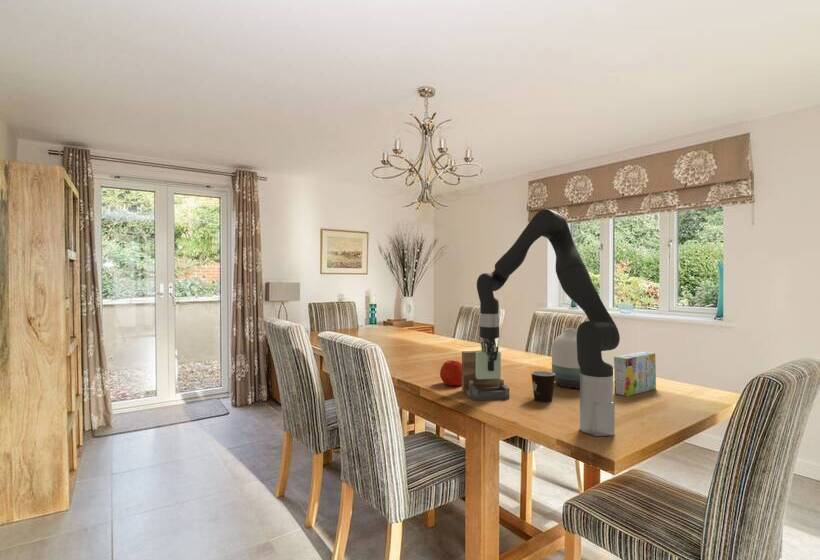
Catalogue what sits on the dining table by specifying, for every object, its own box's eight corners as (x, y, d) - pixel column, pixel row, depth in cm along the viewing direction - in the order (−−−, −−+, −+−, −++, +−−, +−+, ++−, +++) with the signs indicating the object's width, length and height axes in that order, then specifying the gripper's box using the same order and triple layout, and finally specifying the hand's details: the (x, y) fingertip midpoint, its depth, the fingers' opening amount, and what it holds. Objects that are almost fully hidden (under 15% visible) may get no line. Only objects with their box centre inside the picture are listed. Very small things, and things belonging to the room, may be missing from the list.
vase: (566, 391, 177) (566, 332, 177) (544, 381, 194) (544, 327, 193) (603, 389, 181) (603, 331, 181) (578, 379, 198) (578, 326, 197)
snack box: (643, 386, 186) (643, 351, 186) (656, 389, 181) (656, 353, 181) (613, 393, 174) (613, 355, 174) (626, 397, 170) (626, 358, 170)
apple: (435, 384, 189) (435, 359, 189) (452, 380, 197) (452, 356, 197) (453, 389, 181) (453, 363, 181) (470, 384, 189) (470, 360, 189)
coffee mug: (556, 403, 160) (556, 376, 160) (532, 402, 162) (532, 375, 162) (552, 395, 172) (552, 369, 172) (529, 394, 174) (530, 368, 173)
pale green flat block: (500, 378, 168) (500, 352, 168) (478, 379, 167) (478, 353, 167) (497, 376, 171) (497, 351, 171) (475, 377, 170) (475, 351, 170)
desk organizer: (510, 398, 167) (510, 356, 167) (472, 400, 165) (472, 357, 164) (497, 389, 181) (497, 350, 181) (461, 390, 179) (461, 351, 179)
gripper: (505, 327, 162) (505, 373, 163) (492, 323, 176) (492, 365, 176) (486, 327, 161) (485, 374, 161) (474, 323, 175) (474, 366, 175)
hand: (489, 369), depth 169 cm, fingers closed on pale green flat block, 3 cm apart
